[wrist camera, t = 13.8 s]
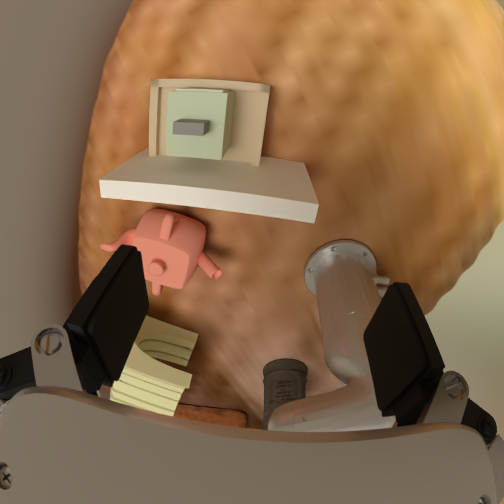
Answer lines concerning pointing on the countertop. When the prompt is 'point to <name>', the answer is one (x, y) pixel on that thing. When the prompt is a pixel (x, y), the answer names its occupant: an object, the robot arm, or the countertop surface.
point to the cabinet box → (199, 122)
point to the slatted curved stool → (155, 368)
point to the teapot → (168, 248)
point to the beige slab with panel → (216, 163)
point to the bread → (211, 415)
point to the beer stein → (282, 384)
